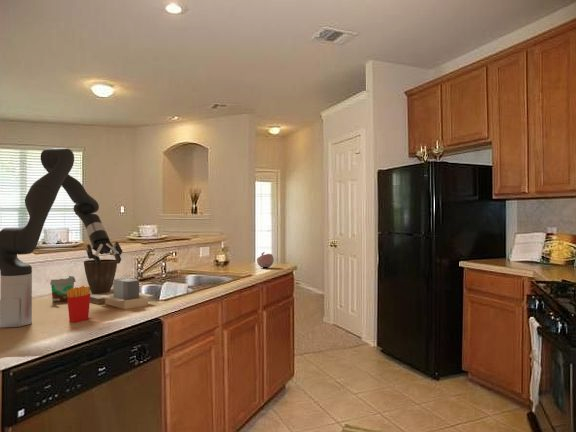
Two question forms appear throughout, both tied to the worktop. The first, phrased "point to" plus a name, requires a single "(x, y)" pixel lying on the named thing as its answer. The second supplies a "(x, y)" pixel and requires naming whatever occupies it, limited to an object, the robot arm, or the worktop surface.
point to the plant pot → (100, 275)
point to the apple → (265, 260)
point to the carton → (127, 301)
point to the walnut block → (99, 300)
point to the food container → (61, 288)
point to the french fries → (78, 303)
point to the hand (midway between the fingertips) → (109, 263)
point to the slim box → (126, 289)
